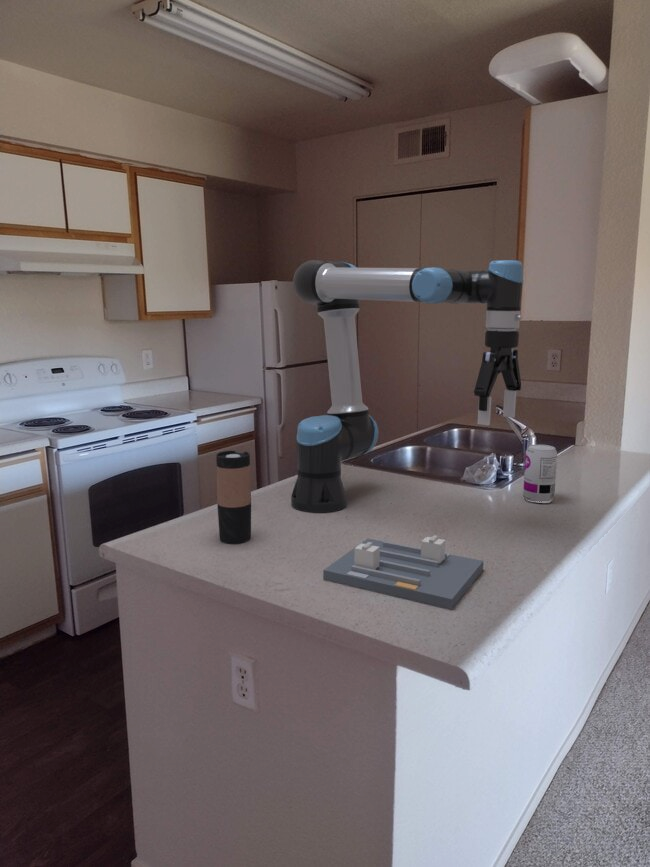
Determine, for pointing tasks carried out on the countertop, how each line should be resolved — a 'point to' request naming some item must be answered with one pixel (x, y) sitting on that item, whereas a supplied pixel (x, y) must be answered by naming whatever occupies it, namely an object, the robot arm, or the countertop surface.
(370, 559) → the tab
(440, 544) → the tab
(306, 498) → the robot arm
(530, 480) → the supplement can
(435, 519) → the countertop surface
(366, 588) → the switch board
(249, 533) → the travel mug
